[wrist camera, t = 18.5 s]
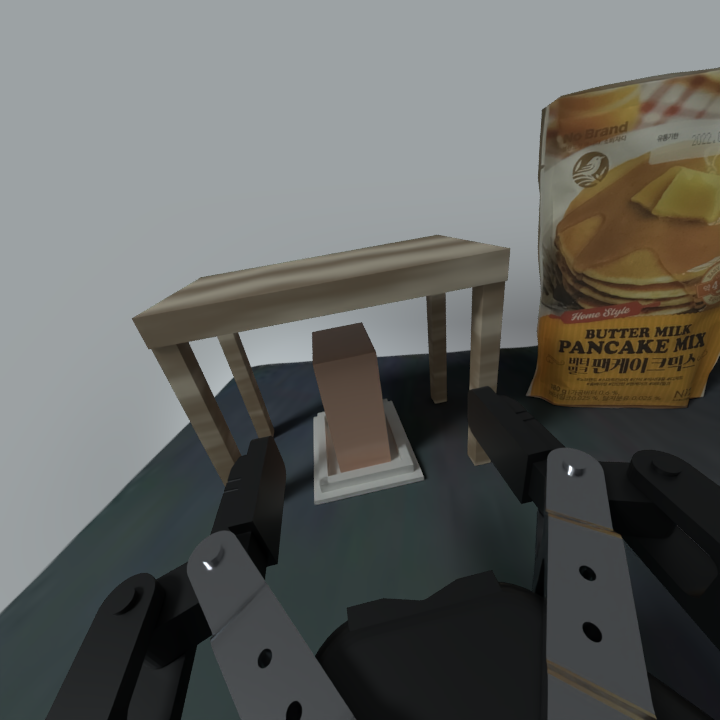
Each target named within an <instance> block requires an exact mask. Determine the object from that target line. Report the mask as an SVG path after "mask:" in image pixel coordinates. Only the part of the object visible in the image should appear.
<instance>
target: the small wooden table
mask: <svg viewBox="0 0 720 720" xmlns="http://www.w3.org/2000/svg"><path fill="white" fill-rule="evenodd" d="M509 257H510V248H506V247H500V246H495V245H490V244H484V243H478V242H473V241H468V240H462V239H457V238H452V237H447V236H441V235H434V236H429V237H423V238H418V239H412V240H406V241H401V242H395V243H390V244H384V245H378V246H373V247H367V248H362V249H356V250H351V251H345V252H340V253H334V254H329V255H323V256H317V257H312V258H306V259H301V260H295V261H290V262H284V263H279V264H273V265H267V266H262V267H256V268H251V269H245V270H239V271H234V272H228V273H223V274H217V275H212V276H206V277H201V278H199V279H198V280H196V281H195V282H193V283H191V284H189V285H187V286H186V287H184V288H182V289H181V290H179V291H177V292H176V293H174V294H172V295H171V296H169V297H167V298H166V299H164V300H162V301H161V302H159V303H157V304H156V305H154V306H152V307H151V308H149V309H147V310H146V311H144V312H142V313H140V314H139V315H137V316H135V317H134V318H132V320H133V322H134V323H135V325H136V327H137V329H138V331H139V333H140V334H141V336H142V338H143V340H144V342H145V343H146V346H147V347H148V349H152V351H153V353H154V355H155V357H156V359H157V361H158V362H159V364H160V366H161V368H162V370H163V372H164V374H165V375H166V377H167V379H168V381H169V383H170V385H171V387H172V389H173V390H174V392H175V394H176V396H177V398H178V400H179V401H180V403H181V405H182V407H183V409H184V411H185V413H186V414H187V416H188V418H189V420H190V422H191V424H192V426H193V428H194V429H195V431H196V433H197V435H198V437H199V439H200V441H201V442H202V444H203V446H204V448H205V450H206V452H207V454H208V456H209V457H210V459H211V461H212V463H213V465H214V467H215V469H216V470H217V472H218V474H219V476H220V478H221V480H222V482H223V483H224V485H225V486H226V483H228V481H227V480H228V477H229V474H230V470H231V468H232V466H233V465H234V464H235V462H236V461H237V460H238V458H239V457H240V456H241V454H240V452H239V450H238V448H237V445H236V443H235V441H234V439H233V437H232V435H231V433H230V430H229V428H228V426H227V424H226V422H225V420H224V418H223V415H222V413H221V411H220V409H219V407H218V405H217V402H216V400H215V398H214V396H213V394H212V392H211V390H210V388H209V385H208V383H207V381H206V379H205V377H204V375H203V372H202V370H201V368H200V366H199V364H198V362H197V360H196V358H195V355H194V353H193V351H192V349H191V347H190V345H189V341H195V340H200V339H205V338H210V337H216V336H217V337H218V339H219V342H220V344H221V347H222V349H223V352H224V354H225V356H226V359H227V361H228V364H229V366H230V369H231V371H232V374H233V376H234V378H235V381H236V383H237V386H238V388H239V391H240V393H241V395H242V398H243V400H244V403H245V405H246V408H247V410H248V412H249V415H250V417H251V420H252V422H253V425H254V427H255V430H256V432H257V434H258V437H259V438H262V437H267V436H272V437H273V436H274V428H273V425H272V423H271V420H270V417H269V414H268V412H267V409H266V406H265V404H264V401H263V398H262V396H261V393H260V390H259V388H258V385H257V382H256V380H255V377H254V374H253V372H252V369H251V366H250V363H249V361H248V358H247V355H246V353H245V350H244V347H243V345H242V342H241V339H240V337H239V334H238V332H242V331H247V330H252V329H257V328H262V327H268V326H273V325H278V324H283V323H288V322H294V321H299V320H304V319H309V318H314V317H320V316H325V315H330V314H335V313H340V312H346V311H350V310H356V309H361V308H367V307H372V306H376V305H382V304H387V303H392V302H398V301H403V300H408V299H413V298H418V297H424V296H426V299H427V320H428V343H429V366H430V388H431V398H432V399H433V401H434V402H435V404H436V403H441V402H445V401H447V364H446V295H445V292H449V291H455V290H460V289H465V288H471V287H472V290H473V291H472V322H471V323H472V324H471V356H470V390H471V389H475V388H480V387H484V386H489V387H490V388H492V389H493V390H494V392H495V393H496V389H497V377H498V364H499V352H500V339H501V327H502V313H503V302H504V290H505V281H507V280H508V268H509ZM468 455H469V457H470V459H471V460H472V462H473V463H474V465H475V466H477V465H481V464H486V463H490V462H491V460H490V458H489V457H488V456H487V454H486V453H485V451H484V450H483V448H482V447H481V446H480V444H479V443H478V441H477V440H476V438H475V437H474V436H473V434H472V432H471V430H470V428H469V424H468Z"/></svg>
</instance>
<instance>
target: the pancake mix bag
mask: <svg viewBox="0 0 720 720" xmlns="http://www.w3.org/2000/svg"><path fill="white" fill-rule="evenodd" d="M538 182H539V190H540V208H539V229H538V230H539V231H538V262H539V273H540V285H541V297H540V306H539V316H538V325H537V337H538V358H537V367H536V371H535V374H534V378H533V380H532V382H531V384H530V387H529V389H528V391H527V394H526V396H531V397H538V398H542V399H544V400H546V401H548V402H549V403H551V404H553V405H559V406H568V407H597V408H654V409H672V408H687V407H688V402H689V399H692V398H698V397H704V392H705V387H706V383H707V379H708V375H709V373H710V372H711V370H712V369H713V367H714V365H715V364H716V362H717V360H718V358H719V356H720V67H719V68H714V69H706V70H698V71H690V72H680V73H670V74H664V75H658V76H651V77H646V78H641V79H636V80H631V81H625V82H620V83H614V84H609V85H604V86H600V87H595V88H591V89H587V90H583V91H579V92H575V93H571V94H567V95H563V96H561V97H559V98H558V99H557V100H555V101H554V102H552V103H551V104H549V105H548V106H547V107H545V108H544V109H542V119H541V133H540V150H539V170H538Z"/></svg>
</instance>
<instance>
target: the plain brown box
mask: <svg viewBox="0 0 720 720" xmlns="http://www.w3.org/2000/svg"><path fill="white" fill-rule="evenodd" d="M312 348H313V368H314V371H315V375H316V379H317V383H318V387H319V391H320V395H321V399H322V402H323V406H324V410H325V414H326V418H327V422H328V426H329V430H330V433H331V437H332V441H333V445H334V449H335V453H336V457H337V461H338V464H339V468H340V472H341V473H343V472H347V471H352V470H356V469H360V468H365V467H369V466H373V465H378V464H382V463H386V462H391V456H390V449H389V442H388V435H387V428H386V420H385V413H384V406H383V399H382V392H381V385H380V377H379V370H378V363H377V356H376V351H375V349H374V347H373V345H372V343H371V341H370V338H369V337H368V334H367V332H366V330H365V328H364V326H363V324H362V322H361V323H356V324H351V325H346V326H341V327H336V328H331V329H326V330H321V331H316V332H312Z"/></svg>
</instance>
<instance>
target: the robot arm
mask: <svg viewBox="0 0 720 720" xmlns="http://www.w3.org/2000/svg"><path fill="white" fill-rule="evenodd" d="M468 424H469V428H470V430H471V432H472V434H473V436H474V437H475V438H476V440H477V441H478V443H479V444H480V446H481V447H482V448H483V450H484V451H485V453H486V454H487V456H488V457H489V458H490V460H491V461H492V463H493V464H494V466H495V467H496V468H497V470H498V471H499V473H500V474H501V476H502V477H503V478H504V480H505V481H506V483H507V484H508V486H509V487H510V488H511V490H512V491H513V493H514V494H515V496H516V497H517V498H518V500H519V501H520V503H521V504H523V503H527V502H531V501H533V502H534V503H535V505H536V506H537V507H538V511H537V525H536V545H535V565H534V575H533V583H532V591H530V590H528V589H526V588H523V587H520V586H517V585H514V584H510V583H505V582H498V581H497V579H496V577H495V575H494V573H493V571H492V570H490V571H487V572H483V573H479V574H475V575H471V576H467V577H463V578H460V579H456V580H455V581H453V582H452V583H450V584H449V585H447V586H446V587H444V588H443V589H441V590H439V591H438V592H436V593H435V594H433V595H432V596H430V597H429V598H427V599H425V600H420V601H419V600H402V599H385V598H383V599H379V600H375V601H371V602H367V603H363V604H360V605H356V606H352V607H348V608H347V614H348V621H346V622H345V623H343V624H342V625H341V626H340V627H338V628H337V629H336V630H335V631H334V632H333V633H332V634H331V635H330V636H329V637H328V638H327V639H326V641H325V642H324V643H323V645H322V646H321V647H320V649H319V650H318V652H317V654H316V655H315V656H314V655H313V653H312V652H311V650H310V648H309V647H308V645H307V644H306V642H305V641H304V639H303V638H302V636H301V635H300V633H299V632H298V630H297V629H296V627H295V626H294V624H293V623H292V621H291V620H290V618H289V617H288V615H287V613H286V612H285V610H284V609H283V607H282V606H281V604H280V603H279V601H278V600H277V598H276V597H275V595H274V594H273V592H272V591H271V589H270V588H269V586H268V585H267V583H266V582H265V574H266V567H267V566H271V565H275V564H278V554H279V544H280V534H281V524H282V514H283V504H284V493H285V483H286V470H285V465H284V462H283V459H282V457H281V455H280V452H279V450H278V448H277V445H276V443H275V441H274V438H273V437H272V436H267V437H262V438H258V439H254V440H251V442H250V445H249V449H248V453H247V455H244V456H240V457H239V458H238V460H237V461H236V462H235V464H234V465H233V466H232V468H231V470H230V474H229V477H228V480H227V481H228V483H226V486H225V490H224V493H223V496H222V499H221V503H220V506H219V509H218V512H217V515H216V519H215V522H214V525H213V528H212V531H211V534H210V536H208V537H207V538H205V539H204V540H203V541H202V542H201V543H200V544H199V545H198V546H197V547H196V548H195V550H194V551H193V553H192V554H191V556H190V558H189V561H188V562H186V563H185V564H183V565H181V566H180V567H178V568H176V569H174V570H172V571H171V572H169V573H167V574H165V575H163V576H162V577H160V578H158V579H155V578H154V577H153V576H152V575H150V574H148V573H140V574H137V575H134V576H132V577H130V578H128V579H127V580H125V581H124V582H122V583H121V584H120V585H118V586H117V587H116V588H115V589H114V590H113V591H112V592H111V593H110V594H109V595H108V597H107V598H106V599H105V600H104V602H103V603H102V605H101V607H100V608H99V610H98V612H97V614H96V616H95V618H94V620H93V622H92V624H91V627H90V629H89V631H88V633H87V635H86V637H85V639H84V641H83V643H82V645H81V647H80V649H79V651H78V653H77V655H76V657H75V659H74V662H73V664H72V666H71V668H70V670H69V672H68V674H67V676H66V678H65V680H64V682H63V684H62V686H61V688H60V690H59V692H58V694H57V697H56V699H55V701H54V703H53V705H52V707H51V709H50V711H49V713H48V715H47V717H46V719H45V720H181V716H182V712H183V707H184V703H185V698H186V693H187V689H188V684H189V680H190V675H191V671H192V666H193V662H194V657H195V652H196V648H197V645H198V644H199V643H201V642H202V641H204V640H205V639H207V638H208V637H210V636H211V635H213V636H212V637H211V639H210V641H211V646H212V649H213V652H214V654H215V657H216V659H217V662H218V664H219V666H220V669H221V671H222V674H223V676H224V679H225V681H226V684H227V686H228V689H229V691H230V693H231V696H232V698H233V701H234V703H235V706H236V708H237V711H238V713H239V716H240V718H241V720H714V719H713V718H711V717H710V716H709V715H707V714H706V713H704V712H703V711H702V710H700V709H699V708H697V707H696V706H695V705H693V704H692V703H690V702H689V701H688V700H686V699H685V698H683V697H682V696H681V695H679V694H678V693H676V692H675V691H674V690H672V689H671V688H669V687H668V686H667V685H665V684H664V683H662V682H661V681H660V680H658V679H657V678H655V677H654V676H653V675H651V674H650V673H648V672H647V671H646V666H645V660H644V654H643V649H642V643H641V638H640V632H639V626H638V621H637V615H636V610H635V604H634V599H633V593H632V587H631V582H630V576H629V571H628V565H627V559H626V554H625V548H624V543H623V540H622V538H623V539H624V540H625V541H626V543H627V544H628V545H629V546H630V547H631V548H632V550H633V551H634V552H635V553H636V554H637V555H638V557H639V558H640V559H641V560H642V561H643V562H644V564H645V565H646V566H647V567H648V568H649V569H650V570H651V572H652V573H653V574H654V575H655V576H656V577H657V579H658V580H659V581H660V582H661V583H662V584H663V586H664V587H665V588H666V589H667V590H668V591H669V593H670V594H671V595H672V596H673V597H674V598H675V599H676V601H677V602H678V603H679V604H680V605H681V606H682V608H683V609H684V610H685V611H686V612H687V613H688V615H689V616H690V617H691V618H692V619H693V620H694V622H695V623H696V624H697V625H698V626H699V627H700V628H701V630H702V631H703V632H704V633H705V634H706V635H707V637H708V638H709V639H710V640H711V641H712V642H713V644H714V645H715V646H716V647H717V648H718V649H719V651H720V486H718V485H717V484H716V483H714V482H713V481H712V480H710V479H709V478H707V477H706V476H705V475H703V474H702V473H701V472H699V471H698V470H697V469H695V468H694V467H692V466H691V465H690V464H688V463H687V462H685V461H684V460H682V459H680V458H678V457H676V456H674V455H671V454H668V453H665V452H661V451H656V450H642V451H638V452H636V453H635V454H634V455H633V457H632V459H631V461H630V463H624V462H600V461H597V460H596V459H594V458H593V457H592V456H590V455H588V454H587V453H585V452H582V451H580V450H576V449H572V448H566V447H565V446H564V445H563V444H561V443H560V442H559V441H558V440H557V439H556V438H555V437H554V436H553V435H552V434H551V433H550V432H549V431H548V430H547V429H546V428H545V427H544V426H543V425H542V424H541V423H540V422H538V421H537V420H535V419H534V417H533V416H532V415H531V414H530V413H529V412H527V410H526V409H525V408H524V407H523V406H522V405H521V404H520V403H519V402H518V401H516V400H514V399H512V398H510V397H508V396H506V395H502V396H498V395H497V394H496V393H495V392H494V390H493V389H492V388H490V387H489V386H484V387H480V388H475V389H471V390H469V391H468ZM677 525H678V526H679V527H680V528H681V529H682V530H683V531H684V532H685V533H686V534H687V535H689V536H690V537H691V538H692V539H693V540H694V541H695V542H696V543H697V544H698V545H699V546H700V547H701V548H702V549H703V550H705V551H706V552H707V553H708V555H707V554H706V553H705V552H704V551H703V550H702V549H701V548H700V547H699V546H698V545H697V544H696V543H695V542H694V541H693V540H692V539H690V538H689V537H688V536H687V535H686V534H685V533H684V532H683V531H682V530H681V529H680V528H679V527H678V526H677Z"/></svg>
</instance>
